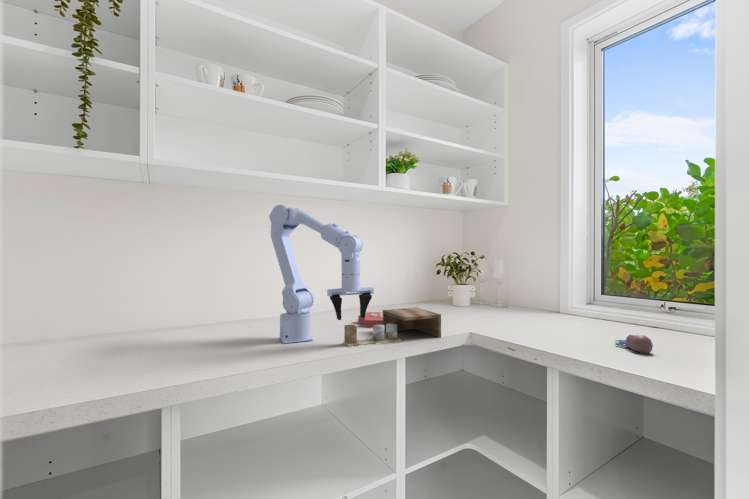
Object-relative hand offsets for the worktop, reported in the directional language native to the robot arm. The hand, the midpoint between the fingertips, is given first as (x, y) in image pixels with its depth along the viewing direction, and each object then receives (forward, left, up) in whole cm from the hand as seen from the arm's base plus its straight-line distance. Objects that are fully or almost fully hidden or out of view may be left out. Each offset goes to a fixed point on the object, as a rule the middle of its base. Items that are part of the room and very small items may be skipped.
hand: (350, 318), depth 104 cm
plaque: (+21, +27, -9) cm, 35 cm away
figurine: (+73, -38, -9) cm, 83 cm away
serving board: (+7, 0, -8) cm, 11 cm away
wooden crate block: (+23, +4, -8) cm, 25 cm away
